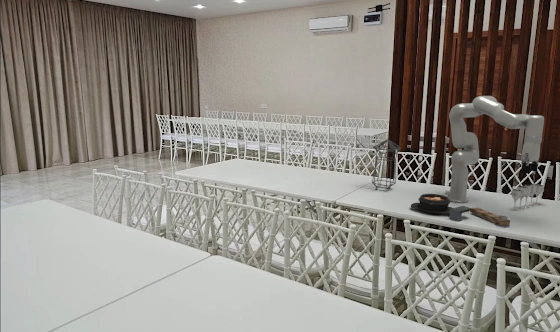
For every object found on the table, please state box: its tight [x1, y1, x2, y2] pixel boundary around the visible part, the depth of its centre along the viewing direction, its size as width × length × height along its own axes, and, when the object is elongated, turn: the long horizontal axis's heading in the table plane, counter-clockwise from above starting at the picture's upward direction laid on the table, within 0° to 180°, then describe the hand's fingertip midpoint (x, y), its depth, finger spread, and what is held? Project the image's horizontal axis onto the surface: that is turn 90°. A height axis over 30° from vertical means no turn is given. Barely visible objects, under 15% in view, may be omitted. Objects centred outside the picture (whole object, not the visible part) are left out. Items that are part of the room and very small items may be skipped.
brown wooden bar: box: [469, 206, 511, 226], centre depth 212 cm, size 22×5×4 cm, turn 16°
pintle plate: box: [493, 222, 511, 228], centre depth 204 cm, size 7×7×1 cm
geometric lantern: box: [371, 139, 402, 192], centre depth 271 cm, size 16×16×35 cm
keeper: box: [449, 205, 473, 222], centre depth 214 cm, size 5×12×6 cm, turn 123°
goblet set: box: [509, 183, 545, 212], centre depth 235 cm, size 28×6×13 cm, turn 119°
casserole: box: [410, 193, 454, 215], centre depth 226 cm, size 25×19×8 cm
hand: (529, 172), depth 207 cm, fingers open, 9 cm apart
